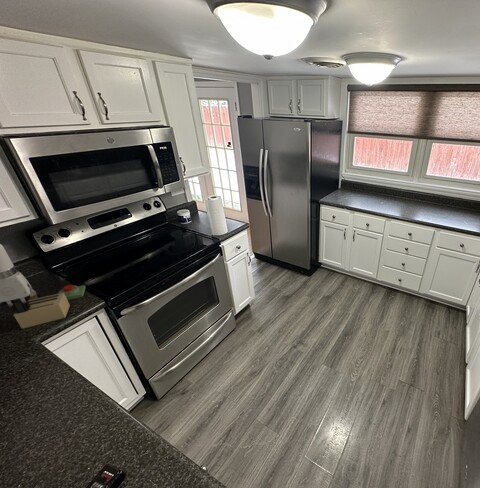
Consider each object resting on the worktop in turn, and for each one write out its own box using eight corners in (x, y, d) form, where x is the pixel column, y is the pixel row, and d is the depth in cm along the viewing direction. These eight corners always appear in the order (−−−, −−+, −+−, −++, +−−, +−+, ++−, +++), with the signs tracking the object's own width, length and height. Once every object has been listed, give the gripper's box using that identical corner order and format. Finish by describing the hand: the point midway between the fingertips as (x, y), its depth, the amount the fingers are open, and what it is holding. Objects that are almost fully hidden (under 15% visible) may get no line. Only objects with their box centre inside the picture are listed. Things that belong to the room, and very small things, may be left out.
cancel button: (63, 292, 130) (62, 289, 129) (65, 289, 133) (63, 286, 132) (73, 290, 132) (71, 287, 131) (74, 287, 134) (73, 284, 134)
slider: (19, 313, 109) (13, 303, 107) (21, 309, 112) (16, 299, 110) (25, 311, 110) (19, 302, 108) (27, 307, 113) (22, 298, 110)
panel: (56, 303, 128) (53, 297, 126) (60, 294, 135) (57, 287, 133) (83, 297, 133) (80, 291, 131) (86, 288, 139) (83, 282, 138)
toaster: (22, 329, 112) (13, 314, 109) (29, 315, 120) (21, 301, 116) (65, 318, 119) (58, 304, 115) (70, 306, 126) (63, 292, 123)
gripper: (-34, 283, 96) (-8, 322, 104) (27, 272, 104) (46, 309, 112) (-24, 274, 102) (0, 311, 110) (32, 264, 110) (51, 299, 118)
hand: (23, 310), depth 111 cm, fingers closed on slider, 2 cm apart
